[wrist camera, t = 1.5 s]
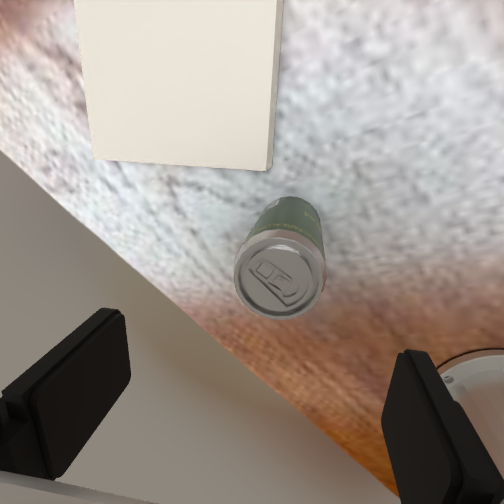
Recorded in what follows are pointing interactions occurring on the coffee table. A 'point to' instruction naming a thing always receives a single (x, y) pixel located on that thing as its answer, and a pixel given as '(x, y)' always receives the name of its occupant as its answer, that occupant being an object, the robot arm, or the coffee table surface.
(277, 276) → the beer can
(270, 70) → the riser block
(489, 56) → the coffee table surface
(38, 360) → the robot arm
